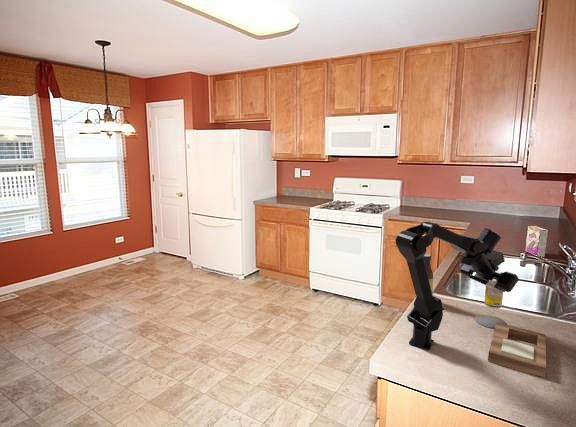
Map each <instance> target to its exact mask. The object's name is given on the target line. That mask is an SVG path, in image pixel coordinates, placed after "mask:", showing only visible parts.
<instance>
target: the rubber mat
mask: <svg viewBox="0 0 576 427" xmlns="http://www.w3.org/2000/svg"><path fill="white" fill-rule="evenodd" d="M474 319H475V322H476V323H478V324H479V325H480V326H482V327H484V328H489V329H493V330H494V329H495V325H496V323H499V324H504V325H508V324H507V322H506V321H505V320H504V319H502V318H500V317H497V316H495V315H490V314H477V315H476V316H475V318H474Z"/></svg>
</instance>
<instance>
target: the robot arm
mask: <svg viewBox="0 0 576 427" xmlns="http://www.w3.org/2000/svg"><path fill="white" fill-rule="evenodd" d="M501 237H502V236H500V235H499V234H497V233H496V232H495V231H492V229H491V228H486V227H484V229H483V230H482V232H481V233H480V234H479V236H478V237H477V238H475V237H472V236H467V235H464V234H459V233H456V232H455V231H452V230H449V229H447V228H445V227H443V226H441V225H439V224H438V223H434V222H432V221H431V222H430V221H424V222H422V223H421V224H418V225H415V226H411V227H408V228H406V229H404V230H402V231H400V232H399V233H398V234H397V236H396V238H395V245H396V247H397V249H398V251H399V254H401V256H402V257H403V258H404V259H405V261H406V263H407V266H408V271H409V275H410V278H411V279H410V280H411V283H412V285H413V290H414V293H415V299H414V301H413V307H412V309H411V310H410V312H409V313H408V314H407V316H406V318H407V322H409V323H411V324H413V328H412V337H411V338H410V340H409V341H408V344H409V345H411V346H414V347H418V348H421V349H424V350H427V351H430V350H431V348H432V346H433V345H434V343H435V340H434V339H432V334H433V332H435V331H438V330H439V328H440V326H441V323H442V320H443V317H444V312H443V311H444V310H445V309H444V307H443V304H442V303H443V301H442V299H441V298H438V297H436V296H434V294H433V295H432V291H431V287H430V283H429V279H428V275H427V271H426V267H425V263H424V259H423V257H424V255H425V254H427V248H428V247H429V246H431V245H432V244H433V241H434V240H435V238H436V239H437V240H440V241H441V242H443V243H446V244H449V245H450V247H451V248H452V249H454V251H456V252H459V253H463V254H464V255H463V256H462V259H461V260H460V263H461V264H463V265H462V266H461V267H460V269H459V270H460V271H459V272H460V274H461V275H462V276H464V277H467V278H469V279H471V280H473V281H476V282H478V283H479V284H480V283H481V284H482V285H485V286H486V283H488V282H489V280H491V281H492V280H493V279H496V281H497V283H496V285H495V286H494V288H496V289H498V290H500V291H502V292H503V293H505V292H506V293H511V292H512V290H513V289H514V288H515V287H516V285H517V283H518V282H519V281H520V279H519V276H518V275H517V274H515V273H512V272H510V271H503V272H498V270H499V269H500V268H499V266H501V264H504V263H505V255H504V253H503V252H502V251H498V250H495V248H496V246H498V244H499V242H500V241H501Z"/></svg>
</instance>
